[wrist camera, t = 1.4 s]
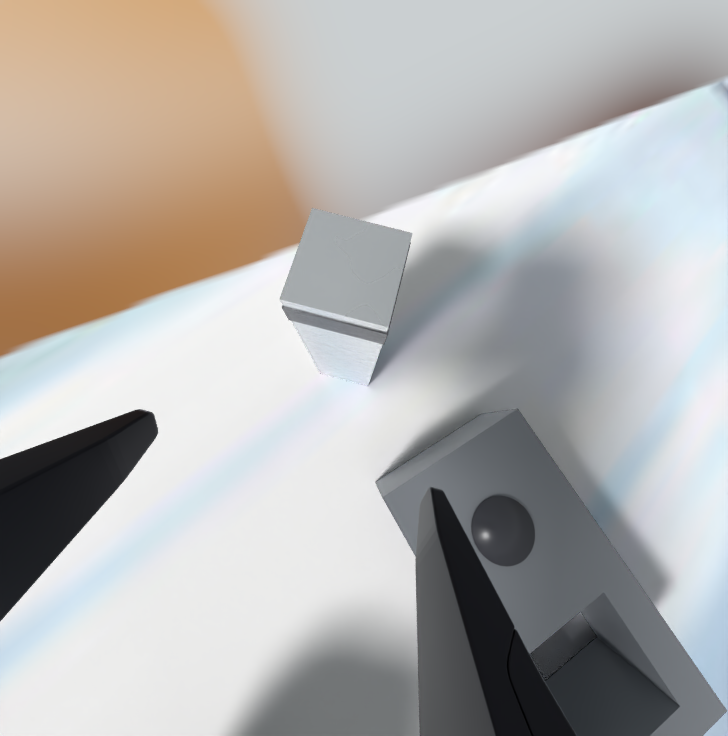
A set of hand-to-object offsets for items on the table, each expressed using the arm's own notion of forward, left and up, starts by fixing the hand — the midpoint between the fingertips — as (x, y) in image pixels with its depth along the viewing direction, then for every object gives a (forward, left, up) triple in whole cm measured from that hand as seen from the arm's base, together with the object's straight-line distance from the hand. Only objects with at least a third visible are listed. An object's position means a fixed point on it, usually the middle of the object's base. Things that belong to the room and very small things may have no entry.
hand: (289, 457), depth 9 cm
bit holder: (+2, -15, -13) cm, 20 cm away
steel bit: (+6, +3, -13) cm, 15 cm away
